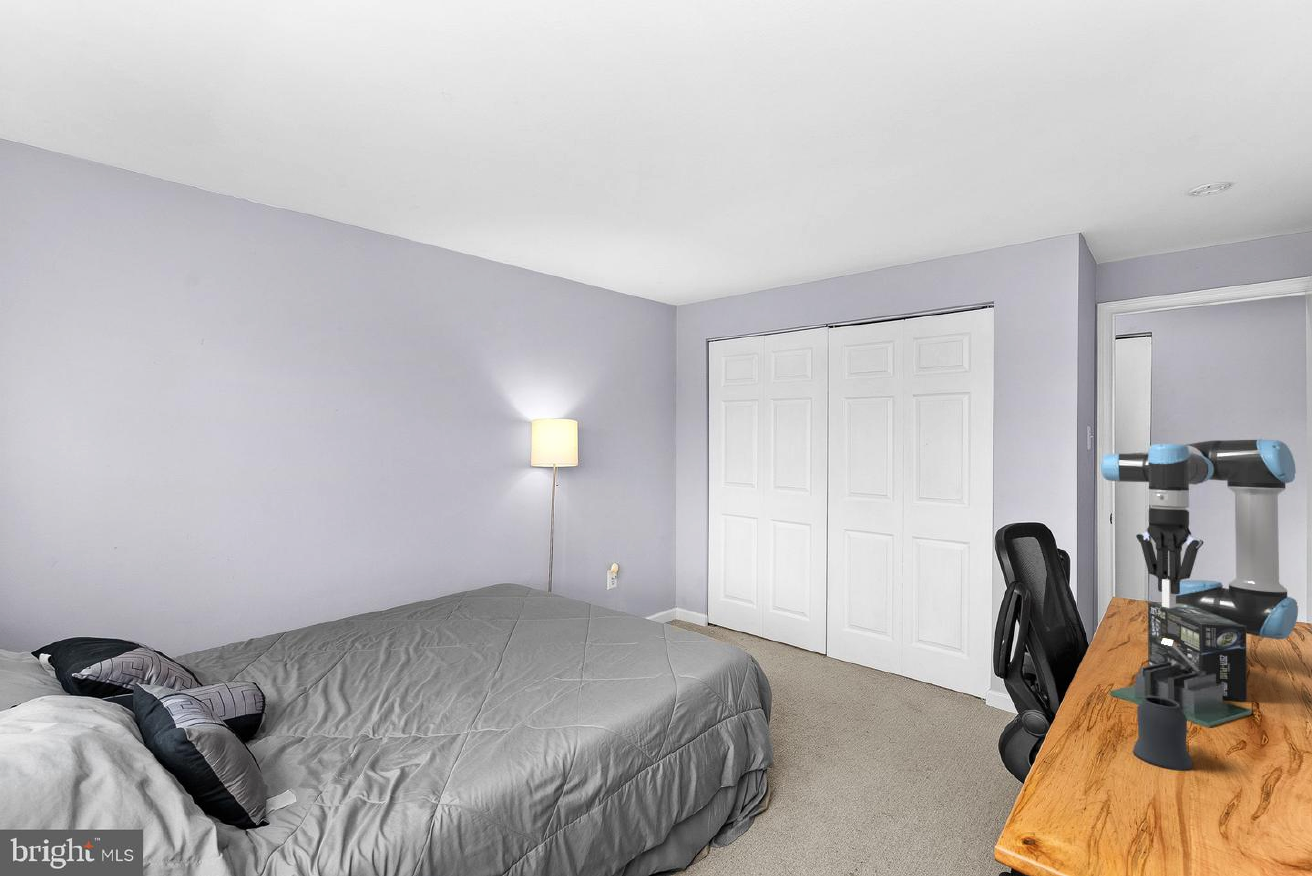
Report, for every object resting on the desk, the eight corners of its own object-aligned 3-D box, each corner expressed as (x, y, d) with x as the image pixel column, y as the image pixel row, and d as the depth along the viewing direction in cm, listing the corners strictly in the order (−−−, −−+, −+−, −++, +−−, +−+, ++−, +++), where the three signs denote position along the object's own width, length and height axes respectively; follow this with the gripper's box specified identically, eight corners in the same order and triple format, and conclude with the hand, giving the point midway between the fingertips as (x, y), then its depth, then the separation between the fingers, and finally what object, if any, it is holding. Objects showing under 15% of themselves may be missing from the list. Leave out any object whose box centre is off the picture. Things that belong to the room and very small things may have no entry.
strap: (1189, 673, 153) (1191, 667, 153) (1203, 677, 150) (1205, 671, 150) (1159, 643, 148) (1161, 637, 148) (1173, 646, 145) (1175, 640, 145)
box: (1249, 703, 149) (1248, 624, 150) (1201, 699, 151) (1200, 622, 152) (1187, 671, 172) (1186, 602, 172) (1147, 668, 174) (1146, 600, 174)
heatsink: (1152, 684, 161) (1152, 653, 161) (1251, 714, 142) (1250, 679, 143) (1110, 694, 153) (1109, 662, 154) (1208, 727, 135) (1208, 690, 135)
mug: (1195, 775, 114) (1194, 714, 114) (1133, 760, 120) (1132, 702, 120) (1189, 751, 124) (1188, 695, 124) (1132, 738, 129) (1131, 684, 129)
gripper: (1129, 505, 152) (1129, 601, 152) (1192, 510, 141) (1193, 614, 140) (1146, 505, 156) (1147, 599, 155) (1210, 510, 144) (1211, 612, 143)
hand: (1168, 606), depth 147 cm, fingers closed
